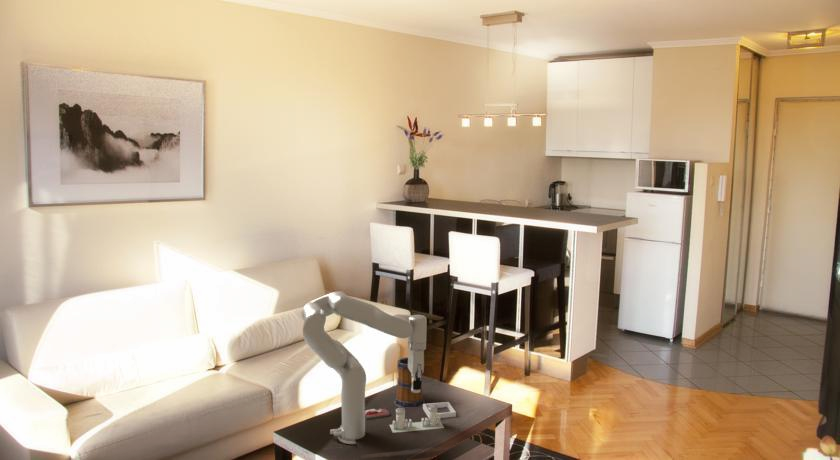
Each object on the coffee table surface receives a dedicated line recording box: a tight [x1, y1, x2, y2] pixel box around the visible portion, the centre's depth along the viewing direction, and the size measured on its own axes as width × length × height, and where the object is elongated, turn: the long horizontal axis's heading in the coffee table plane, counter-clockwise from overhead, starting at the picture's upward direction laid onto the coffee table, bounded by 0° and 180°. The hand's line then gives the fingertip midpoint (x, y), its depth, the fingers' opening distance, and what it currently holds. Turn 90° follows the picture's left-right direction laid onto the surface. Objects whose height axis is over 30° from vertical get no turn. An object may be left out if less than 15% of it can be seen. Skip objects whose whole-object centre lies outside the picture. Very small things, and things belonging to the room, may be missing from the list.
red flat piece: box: [365, 408, 391, 421], centre depth 291 cm, size 9×4×20 cm
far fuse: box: [428, 405, 438, 427], centre depth 281 cm, size 4×4×8 cm
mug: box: [393, 356, 426, 409], centre depth 311 cm, size 19×14×20 cm
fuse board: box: [389, 417, 445, 434], centre depth 280 cm, size 22×8×4 cm, turn 103°
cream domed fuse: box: [395, 407, 406, 430], centre depth 278 cm, size 4×4×8 cm
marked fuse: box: [411, 372, 420, 393], centre depth 278 cm, size 4×4×8 cm
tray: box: [422, 401, 457, 419], centre depth 295 cm, size 12×12×4 cm
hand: (415, 387), depth 278 cm, fingers closed on marked fuse, 3 cm apart
